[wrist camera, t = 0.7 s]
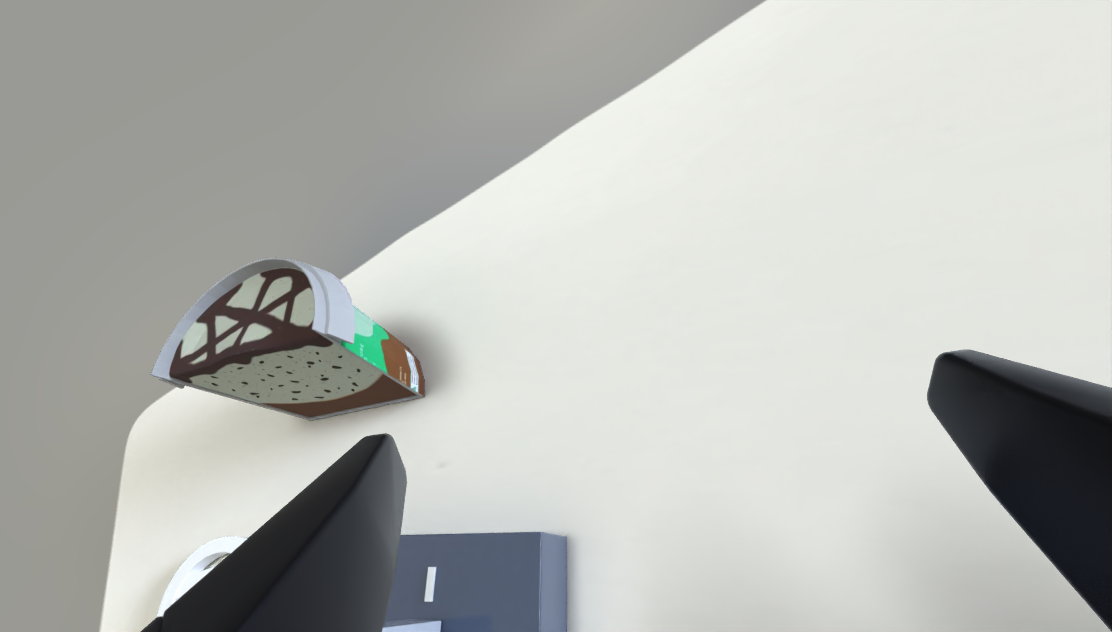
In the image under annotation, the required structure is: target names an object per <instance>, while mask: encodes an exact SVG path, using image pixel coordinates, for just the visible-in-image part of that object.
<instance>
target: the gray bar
mask: <svg viewBox="0 0 1112 632" xmlns="http://www.w3.org/2000/svg"><path fill="white" fill-rule="evenodd" d="M382 632H441V621H440V620H419V619H410V620H401V621H392V622H384V626H383V630H382Z"/></svg>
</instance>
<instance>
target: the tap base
mask: <svg viewBox="0 0 1112 632" xmlns="http://www.w3.org/2000/svg"><path fill="white" fill-rule="evenodd" d="M410 619H419V620H440V621H441V632H566V536H561V535H556V534H550V533H545V532H514V533H470V534H426V535H400V543H399V551H398V559H397V566H396V572H395V577H394V582H393V587H392V591H391V596H390V600H389V604H388V609H387V613H386V617H385V621H384V622H392V621H401V620H410Z"/></svg>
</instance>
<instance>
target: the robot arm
mask: <svg viewBox="0 0 1112 632" xmlns="http://www.w3.org/2000/svg"><path fill="white" fill-rule="evenodd" d="M927 400H928V404H929V406H930V409H931V410H932V412H933V413H934V415H935V416H936V417H937V419H938V420H939V421H940V423H941V424H942V426H943V427H944V428H945V430H946V431H947V433H948V434H949V435H950V437H951V438H952V440H953V441H954V442H955V444H956V445H957V447H958V448H959V449H960V451H961V452H962V454H963V455H964V456H965V458H966V459H967V460H968V462H969V463H970V465H971V466H972V467H973V469H974V470H975V472H976V473H977V474H978V476H979V477H980V478H981V480H982V481H983V482H984V484H985V485H986V486H987V488H988V489H989V490H990V492H991V493H992V494H993V495H994V496H995V498H996V499H997V500H998V501H999V502H1000V504H1001V505H1002V506H1003V507H1004V508H1005V509H1006V511H1007V512H1008V513H1009V514H1010V515H1011V516H1012V517H1013V519H1014V520H1015V521H1016V522H1017V523H1018V524H1019V526H1020V527H1021V528H1022V529H1023V530H1024V531H1025V532H1026V534H1027V535H1028V536H1029V537H1030V538H1031V539H1032V540H1033V542H1034V543H1035V544H1036V545H1037V546H1038V547H1039V549H1040V550H1041V551H1042V552H1043V553H1044V554H1045V555H1046V557H1047V558H1048V559H1049V560H1050V561H1051V562H1052V564H1053V565H1054V566H1055V567H1056V568H1057V569H1058V570H1059V572H1060V573H1061V574H1062V575H1063V576H1064V577H1065V578H1066V580H1067V581H1068V582H1069V583H1070V584H1071V585H1072V587H1073V588H1074V589H1075V590H1076V591H1077V592H1078V593H1079V595H1080V596H1081V597H1082V598H1083V599H1084V600H1085V601H1086V603H1087V604H1088V605H1089V606H1090V607H1091V608H1092V610H1093V611H1094V612H1095V613H1096V614H1097V615H1098V616H1099V618H1100V619H1101V620H1102V621H1103V622H1104V623H1105V625H1106V626H1107V627H1108V628H1109V629H1110V630H1111V631H1112V388H1110V387H1106V386H1103V385H1099V384H1095V383H1092V382H1088V381H1084V380H1081V379H1077V378H1073V377H1070V376H1066V375H1062V374H1058V373H1055V372H1051V371H1047V370H1044V369H1040V368H1036V367H1033V366H1029V365H1025V364H1021V363H1018V362H1014V361H1010V360H1007V359H1003V358H999V357H996V356H992V355H988V354H985V353H981V352H977V351H973V350H958V351H951V352H945V353H942V354H940V355H939V356H938V357H937V358H936V360H935V363H934V367H933V371H932V376H931V380H930V384H929V388H928V392H927ZM406 484H407V478H406V471H405V468H404V465H403V462H402V460H401V457H400V454H399V452H398V449H397V446H396V444H395V441H394V439H393V437H392V436H391V435H389V434H386V433H385V434H378V435H371V436H366V437H364V438H363V439H361V440H360V441H359V442H358V443H357V444H356V445H354V446H353V447H352V448H351V449H350V450H349V451H348V452H346V453H345V454H344V455H343V456H342V457H341V458H340V459H338V460H337V461H336V462H335V463H334V464H333V465H332V466H330V467H329V468H328V469H327V470H326V471H325V472H323V473H322V474H321V475H320V476H319V477H318V478H317V479H315V480H314V481H313V482H312V483H311V484H310V485H309V486H307V487H306V488H305V489H304V490H303V491H302V492H301V493H299V494H298V495H297V496H296V497H295V498H294V499H293V500H291V501H290V502H289V503H288V504H287V505H286V506H284V507H283V508H282V509H281V510H280V511H279V512H278V513H276V514H275V515H274V516H273V517H272V518H271V519H270V520H268V521H267V522H266V523H265V524H264V525H263V526H262V527H260V528H259V529H258V530H257V531H256V532H255V533H254V534H252V535H251V536H250V537H249V538H248V539H247V540H245V541H244V542H243V543H242V544H241V545H240V546H239V547H237V548H236V549H235V550H234V551H233V552H232V553H231V554H229V555H228V556H227V557H226V558H225V559H224V560H223V561H221V562H220V563H219V564H218V565H217V566H216V567H214V568H213V569H212V570H211V571H210V572H209V573H208V574H206V575H205V576H204V577H203V578H202V579H201V580H200V581H198V582H197V583H196V584H195V585H194V586H193V587H192V588H190V589H189V590H188V591H187V592H186V593H185V594H183V595H182V596H181V597H180V598H179V599H178V600H177V601H175V602H174V603H173V604H172V605H171V606H170V607H169V608H167V609H166V610H165V611H164V614H163V616H159V617H157V618H156V619H155V620H153V621H152V622H151V623H150V624H149V625H148V626H147V627H145V628H144V629H143V630H142V631H141V632H382V630H383V626H384V621H385V617H386V613H387V609H388V604H389V600H390V596H391V591H392V587H393V582H394V577H395V572H396V566H397V559H398V551H399V543H400V534H401V526H402V518H403V509H404V501H405V493H406Z"/></svg>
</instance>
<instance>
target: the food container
mask: <svg viewBox="0 0 1112 632" xmlns="http://www.w3.org/2000/svg"><path fill="white" fill-rule="evenodd" d="M150 375H152V376H155V377H158V378H160V380H161V381H164V382H166V383H169V384H171V385H174V386H176V387H178V388H181V389H182V388H184V386H185V385H186V386H189V387H193V388H196V389H200V390H203V391H207V392H211V393H214V394H218V395H221V396H225V397H228V398H232V399H236V400H239V401H243V402H246V403H250V404H253V405H257V406H260V407H264V408H268V409H271V410H275V411H278V412H282V413H285V414H289V415H293V416H296V417H300V418H303V419H307V420H310V421H312V420H317V419H321V418H326V417H331V416H336V415H341V414H345V413H350V412H355V411H360V410H365V409H369V408H374V407H379V406H384V405H389V404H393V403H398V402H403V401H408V400H413V399H417V398H422V397H425V380H424V376H423V373H422V369H421V366H420V362H419V360H418V359H417V358H416V357H415V355H414V354H413V353H412V351H411V350H410V349H409V348H408V347H407V346H406V345H404V344H403V343H402V342H400V341H399V340H398V339H396V338H395V337H394V336H393V335H391V334H390V333H389V332H387V331H386V330H385V329H383V328H382V327H381V326H380V325H378V324H377V323H376V322H374V321H373V320H372V319H371V318H369V317H368V316H367V315H365V314H364V313H363V312H361V311H360V310H359V309H358V308H356V307H355V306H354V305H352V301H351V297H350V295H349V293H348V291H347V289H346V287H345V286H344V285H343V283H342V282H341V281H340V280H339V279H338V278H337V277H335V276H334V275H333V274H331V273H329V272H327V271H324V270H322V269H319V268H316V267H314V266H311V265H309V264H306V263H303V262H300V261H297V260H289V259H283V258H266V259H262V260H258V261H254V262H251V263H249V264H247V265H245V266H242V267H240V268H238V269H237V270H235V271H233V272H232V273H230V274H228V275H227V276H225V277H224V278H223V279H221V280H220V281H218V282H217V283H216V284H215V285H214V286H212V287H211V288H210V289H209V290H208V291H207V292H205V293H204V295H203V296H201V298H200V299H199V300H198V301H197V302H196V303H195V304H194V305H193V306H192V307H191V308H190V309H189V311H188V312H187V313H186V314H185V315H184V316H183V318H182V319H181V320H180V322H179V323H178V325H177V326H176V327H175V329H174V330H173V332H172V333H171V335H170V336H169V338H168V340H167V341H166V343H165V345H164V346H163V348H162V350H161V352H160V354H159V356H158V358H157V360H156V362H155V364H154V367H153V369H152V372H151V374H150Z"/></svg>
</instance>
